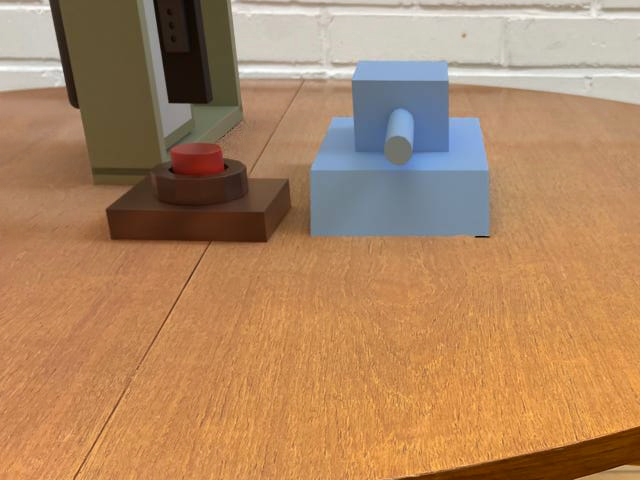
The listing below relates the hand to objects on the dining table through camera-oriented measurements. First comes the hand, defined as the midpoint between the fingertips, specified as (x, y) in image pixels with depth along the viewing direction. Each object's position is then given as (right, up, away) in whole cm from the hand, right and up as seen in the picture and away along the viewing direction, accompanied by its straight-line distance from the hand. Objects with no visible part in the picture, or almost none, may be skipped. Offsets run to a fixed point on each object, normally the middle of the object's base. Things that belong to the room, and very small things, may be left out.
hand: (191, 101), depth 67 cm
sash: (-14, +5, +21) cm, 26 cm away
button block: (0, -7, +4) cm, 9 cm away
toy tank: (+14, -4, +11) cm, 18 cm away
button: (0, -4, +3) cm, 5 cm away
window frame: (-9, +5, +25) cm, 27 cm away
